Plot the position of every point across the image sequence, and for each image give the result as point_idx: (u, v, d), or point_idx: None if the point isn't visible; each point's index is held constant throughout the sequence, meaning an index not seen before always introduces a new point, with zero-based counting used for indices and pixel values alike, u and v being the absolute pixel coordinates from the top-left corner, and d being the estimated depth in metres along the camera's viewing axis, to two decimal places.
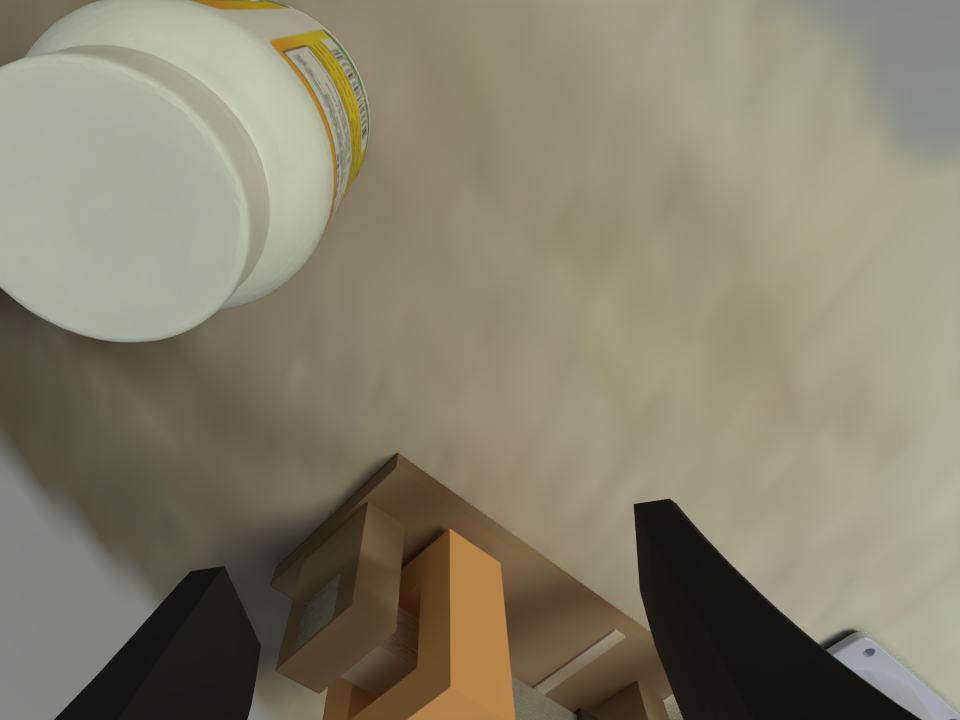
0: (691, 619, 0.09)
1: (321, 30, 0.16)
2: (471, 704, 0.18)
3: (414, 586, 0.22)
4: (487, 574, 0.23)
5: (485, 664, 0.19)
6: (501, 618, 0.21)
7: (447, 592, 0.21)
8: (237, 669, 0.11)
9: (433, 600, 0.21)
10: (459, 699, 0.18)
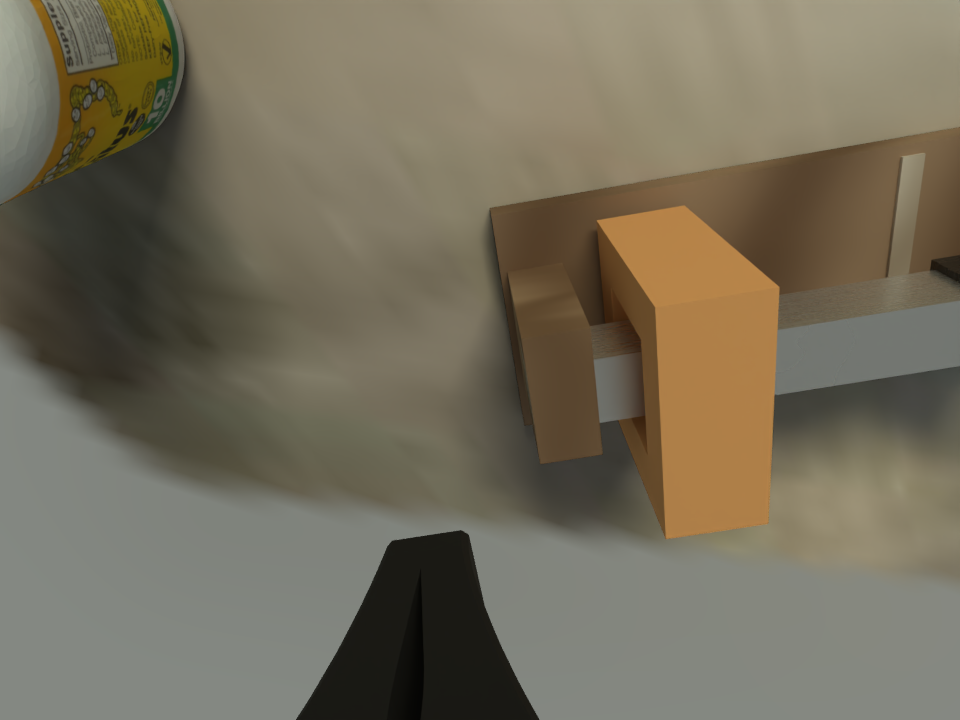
0: None
1: None
2: (701, 308, 0.13)
3: (611, 296, 0.18)
4: (668, 220, 0.18)
5: (702, 272, 0.14)
6: (708, 234, 0.16)
7: (618, 257, 0.16)
8: None
9: (619, 280, 0.17)
10: (682, 312, 0.13)
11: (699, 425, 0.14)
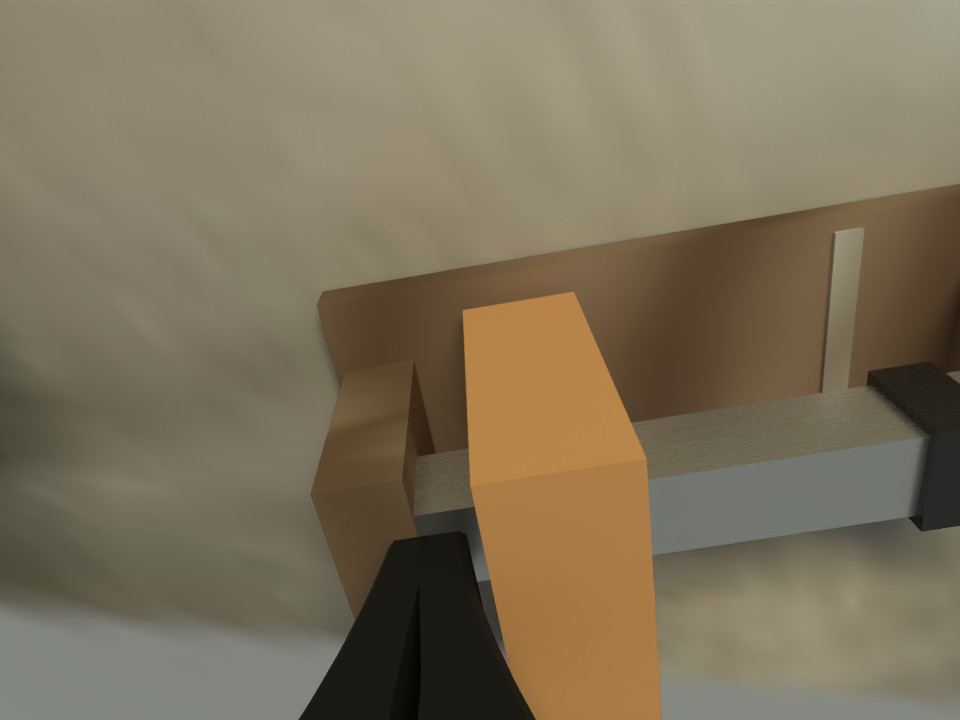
0: None
1: None
2: (537, 486, 0.09)
3: None
4: (546, 316, 0.14)
5: (556, 417, 0.10)
6: (585, 346, 0.12)
7: (466, 376, 0.12)
8: None
9: None
10: (509, 492, 0.09)
11: (554, 626, 0.11)
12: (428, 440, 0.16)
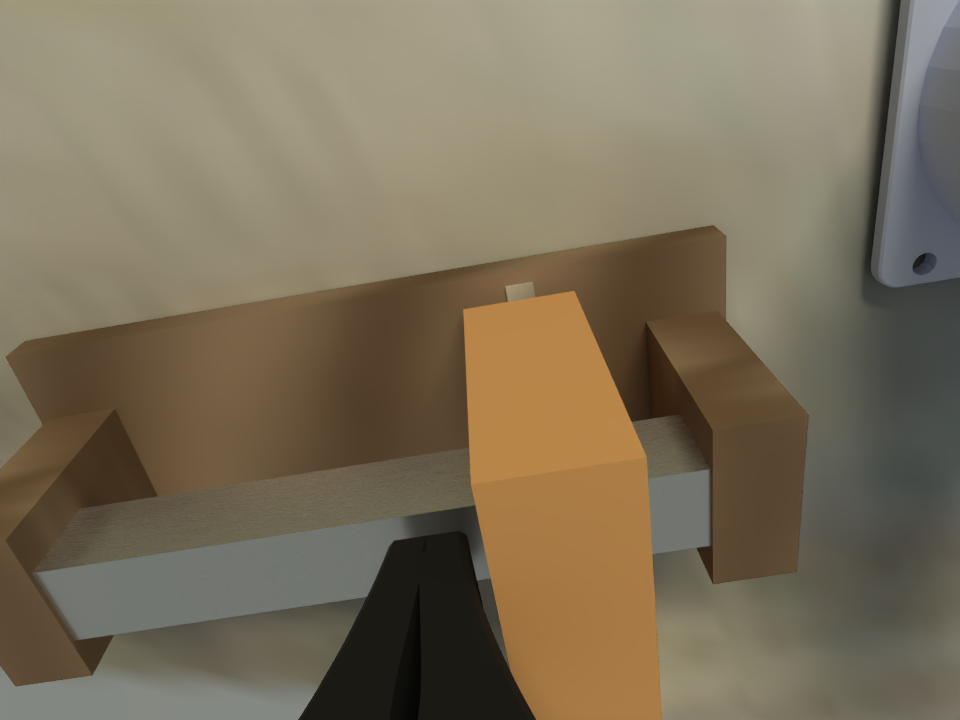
0: None
1: None
2: (537, 484, 0.09)
3: None
4: (547, 315, 0.14)
5: (557, 415, 0.10)
6: (586, 345, 0.12)
7: None
8: None
9: None
10: (509, 489, 0.09)
11: (554, 624, 0.11)
12: (133, 486, 0.16)
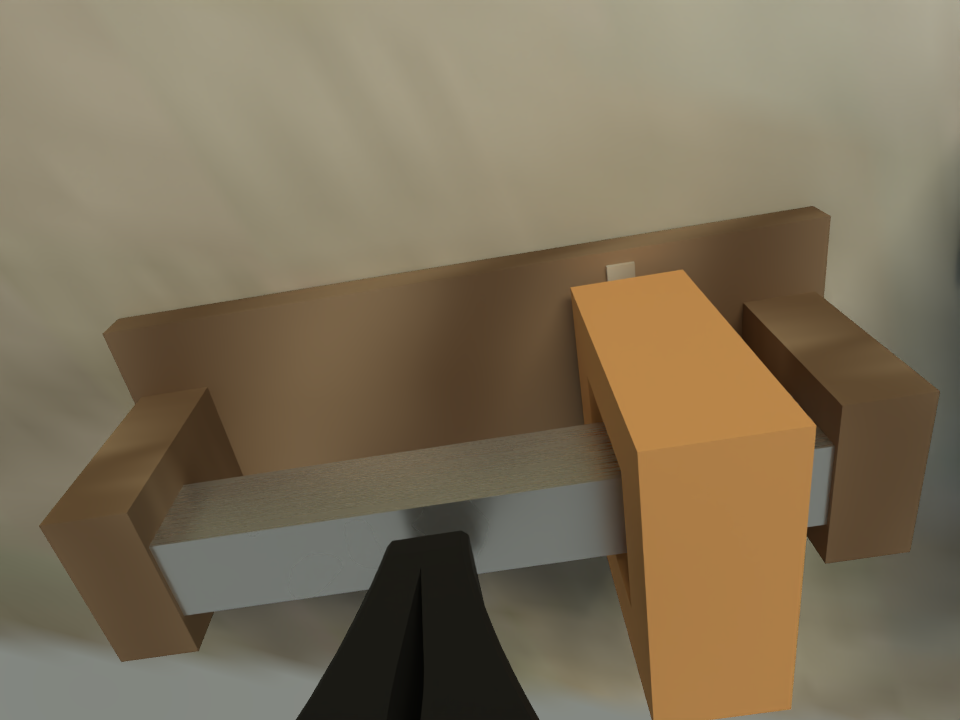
0: None
1: None
2: (703, 452, 0.09)
3: (587, 387, 0.14)
4: (662, 292, 0.14)
5: (706, 387, 0.10)
6: (713, 320, 0.12)
7: (593, 350, 0.12)
8: None
9: (595, 377, 0.13)
10: (676, 459, 0.09)
11: (699, 597, 0.10)
12: (224, 465, 0.16)
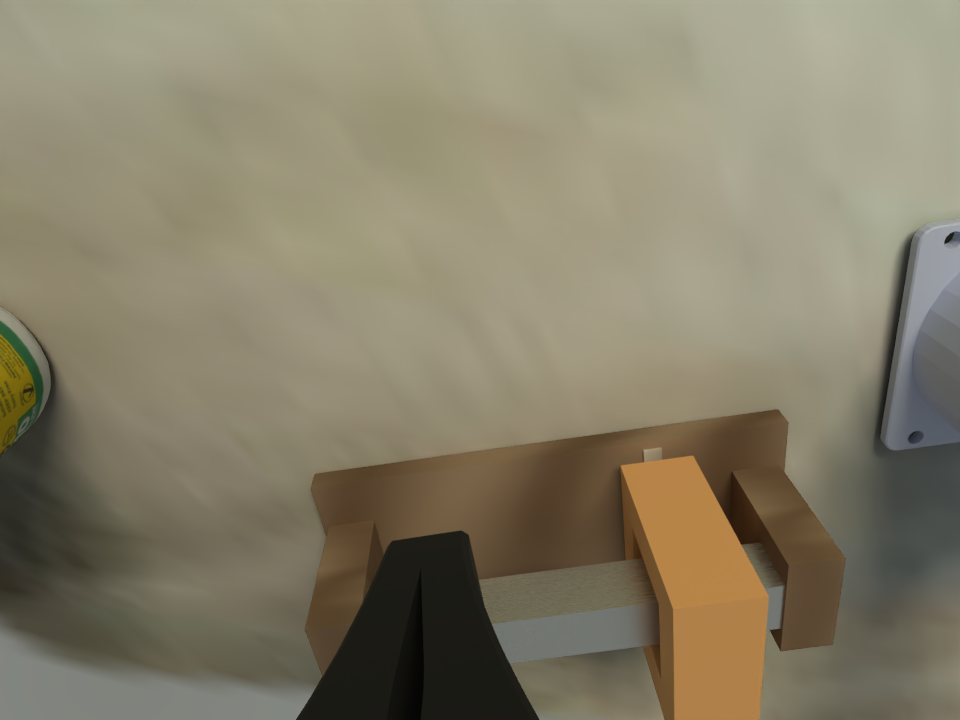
0: None
1: None
2: (708, 609, 0.17)
3: (631, 532, 0.22)
4: (680, 477, 0.21)
5: (709, 562, 0.18)
6: (713, 506, 0.20)
7: (640, 524, 0.20)
8: None
9: (640, 537, 0.20)
10: (693, 612, 0.17)
11: (704, 681, 0.18)
12: None
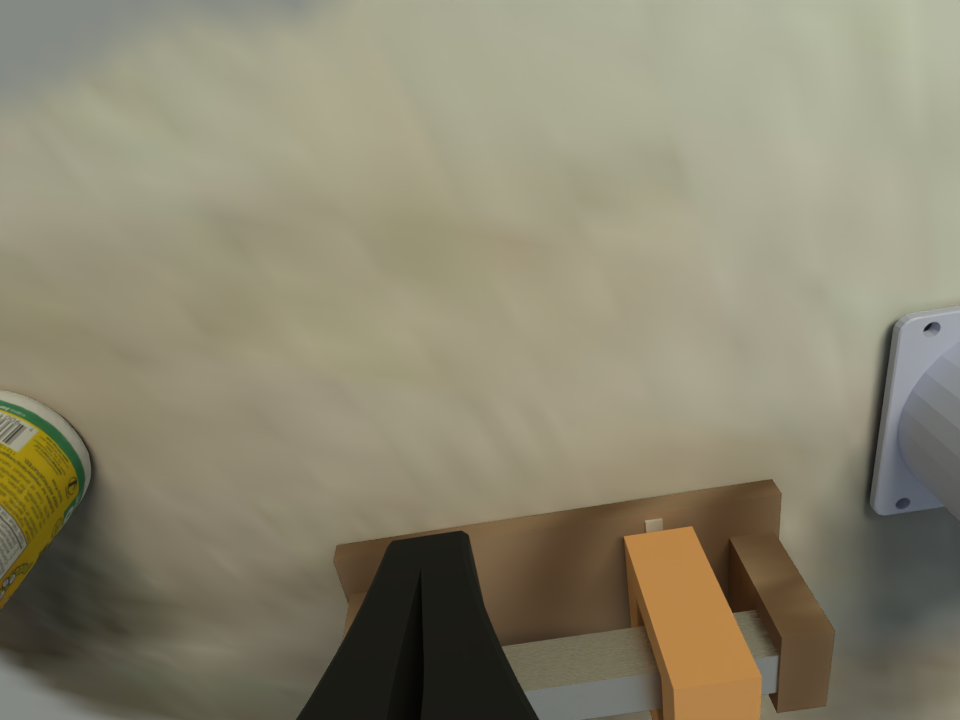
0: None
1: None
2: (706, 688, 0.19)
3: (635, 600, 0.23)
4: (680, 549, 0.23)
5: (707, 640, 0.20)
6: (711, 581, 0.21)
7: (643, 599, 0.21)
8: None
9: (643, 610, 0.22)
10: (692, 691, 0.19)
11: None
12: None
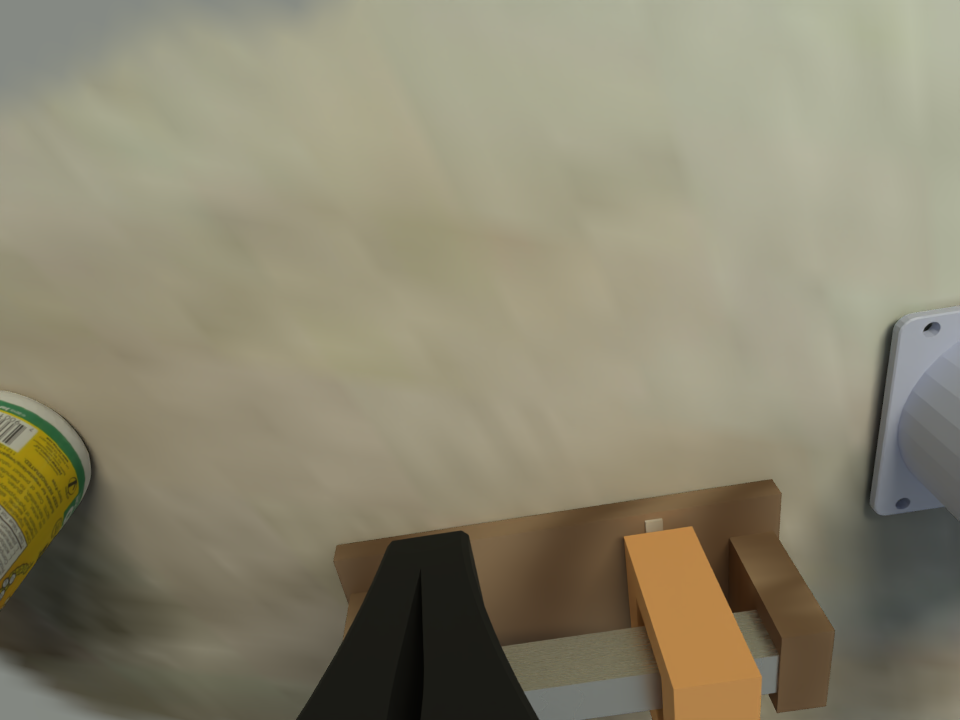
0: None
1: None
2: (706, 688, 0.19)
3: (635, 600, 0.23)
4: (680, 549, 0.23)
5: (707, 640, 0.20)
6: (711, 581, 0.21)
7: (643, 599, 0.21)
8: None
9: (643, 610, 0.22)
10: (692, 691, 0.19)
11: None
12: None
